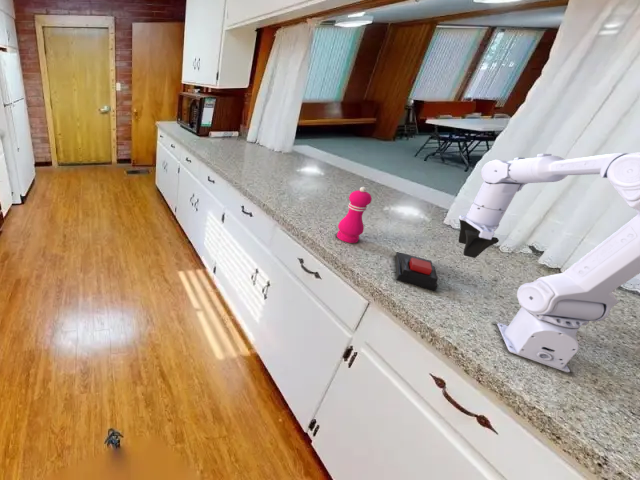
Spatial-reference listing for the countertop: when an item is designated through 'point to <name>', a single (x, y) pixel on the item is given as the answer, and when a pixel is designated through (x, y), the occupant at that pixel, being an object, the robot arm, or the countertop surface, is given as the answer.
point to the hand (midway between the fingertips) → (466, 249)
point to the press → (414, 273)
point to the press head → (420, 266)
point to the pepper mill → (354, 216)
